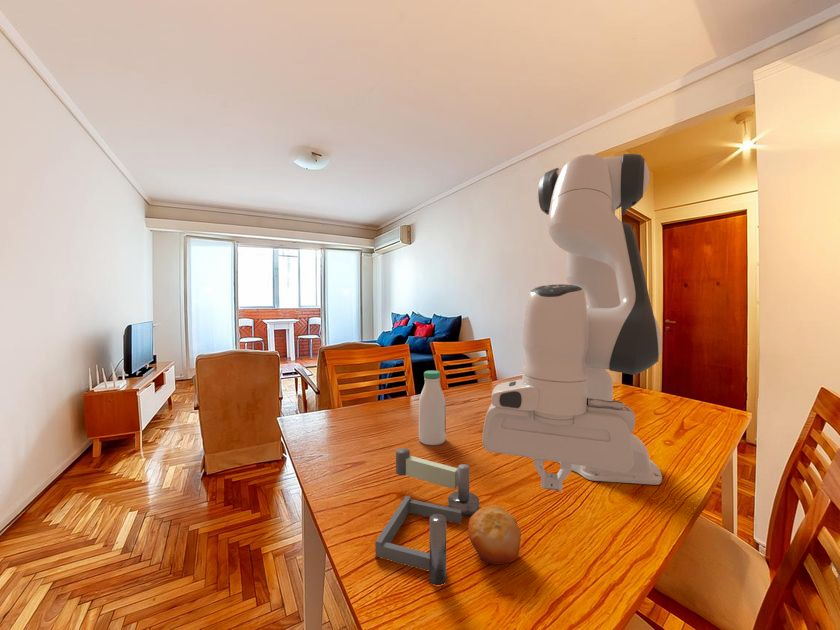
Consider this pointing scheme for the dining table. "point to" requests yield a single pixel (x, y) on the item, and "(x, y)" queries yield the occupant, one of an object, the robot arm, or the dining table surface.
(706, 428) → the dining table surface
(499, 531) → the fruit
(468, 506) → the base
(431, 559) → the post
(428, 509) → the gray frame
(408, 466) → the gate
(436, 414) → the milk bottle
